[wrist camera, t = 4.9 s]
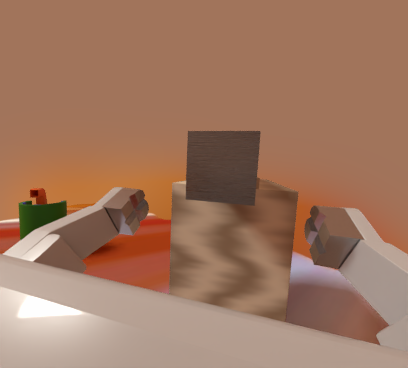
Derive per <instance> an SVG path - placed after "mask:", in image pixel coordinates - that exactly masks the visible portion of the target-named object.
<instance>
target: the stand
mask: <svg viewBox="0 0 408 368" xmlns="http://www.w3.org/2000/svg"><path fill="white" fill-rule="evenodd" d="M185 198H186V181H181V182H175V183H173V185H172V218H171V249H170V282H169V294H170V295H174V296H178V297H183V298H187V299H191V300H195V301H199V302H203V303H208V304H212V305H216V306H220V307H224V308H228V309H233V310H237V311H241V312H245V313H249V314H253V315H258V316H262V317H266V318H270V319H274V320H278V321H283V322H285V320H286V310H287V300H288V290H289V280H290V270H291V260H292V250H293V239H294V230H295V220H296V210H297V200H298V192H297V191H295V190H292V189H289V188H287V187H284V186H282V185H279V184H277V183H274V182H271V181H269V180H261V179H259V178H257V182H256V195H255V206H251V205H240V204H229V203H219V202H208V201H197V200H186V199H185Z"/></svg>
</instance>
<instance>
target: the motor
mask: <svg viewBox="0 0 408 368" xmlns="http://www.w3.org/2000/svg"><path fill="white" fill-rule="evenodd" d="M30 197H36V205H32V201H25V202H21V203H19V221H20V241H21V240H22V239H23V238H25V237H26V236H27V235H28V234H30V233H31V232H32V231H34V230H35V229H37V228H40V227H42V226H44V225H47V224H49V223H51V222H54V221H56V220H59V219H61V218H63V217H66V216H67V205H66V201H61V202H59V203H53V204H47V199H46V193H45V190H44V189H43V188H34V189H31V190H30Z"/></svg>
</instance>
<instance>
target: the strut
mask: <svg viewBox="0 0 408 368" xmlns="http://www.w3.org/2000/svg"><path fill="white" fill-rule="evenodd" d="M259 143H260V131H188V146H187V174H186V198H185V199H186V200H197V201H208V202H219V203H229V204H240V205H251V206H255V195H256V182H257V169H258V156H259Z"/></svg>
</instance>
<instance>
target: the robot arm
mask: <svg viewBox="0 0 408 368" xmlns="http://www.w3.org/2000/svg"><path fill="white" fill-rule="evenodd" d="M144 197H145V194H144V192H143V191H142V190H139V189H131V188H121V187H115V188H113V189H112V190H111V191H110V192H109V193H107V194H106V195H105V196H104V197H103V198H102V199H100V200H99V201H98V202H97V203H96V204H95V205H94V206H89V207H87V208H84V209H82V210H80V211H77V212H75V213H73V214H70V215H68V216H66V217H63V218H61V219H59V220H56V221H54V222H51V223H49V224H47V225H44V226H42V227H40V228H37V229H35V230H34V231H32V232H31V233H30V234H28V235H27V236H26V237H25V238H23V239H22V240H21V241H19V242H18V243H17V244H15V245H14V246H13V247H11V248H10V249H9V250H7V251H6V252H5V253H3V254H0V368H408V255H407V254H406V253H404V252H402V251H401V250H399V249H398V248H396V247H395V246H393V245H391V244H389V243H384V242H383V240H382V239H381V238H380V237H379V235H378V234H377V232H376V231H375V230H374V229H373V227H372V226H371V225H370V223H369V222H368V221H367V219H366V218H365V217H364V215H363V214H362V213H361V211H360V210H358V209H354V208H337V207H325V206H313V207H312V208H311V211H310V214H311V217H310V218H309V219H307V221H306V224H305V237H306V240H307V242H309V243H310V244H311V248H310V253H311V256H312V259H313V262H314V265H319V266H325V267H330V268H335V269H339V271H340V272H341V274H342V275H343V276H344V277H345V278H346V279H347V280H348V281H349V282H350V283H351V284H352V285H353V287H354V288H355V289H356V290H357V291H358V292H359V293H360V294H361V295H362V296H363V297H364V298H365V299H366V301H367V302H368V303H369V304H370V305H371V306H372V307H373V308H374V309H375V310H376V311H377V312H378V313H379V315H380V316H381V317H382V318H383V319H384V320H385V321H386V322H387V323H388V324H389V326H387V327H386V328H384V329H383V330H381V331H379V332H378V334H377V335H376V336H377V339H378V341H379V343H380V345H378V344H374V343H370V342H366V341H362V340H358V339H353V338H349V337H345V336H341V335H337V334H333V333H328V332H324V331H320V330H316V329H312V328H308V327H303V326H299V325H295V324H291V323H287V322H283V321H278V320H274V319H270V318H266V317H262V316H258V315H253V314H249V313H245V312H241V311H237V310H233V309H228V308H224V307H220V306H216V305H212V304H208V303H203V302H199V301H195V300H191V299H187V298H183V297H178V296H174V295H170V294H166V293H162V292H158V291H153V290H149V289H145V288H141V287H137V286H133V285H128V284H124V283H120V282H116V281H112V280H108V279H103V278H99V277H95V276H91V275H87V274H83V272H84V271H85V270H86V265H85V264H84V263H83V262H82V260H83V259H84V258H86V257H87V256H89V255H90V254H91V253H93V252H94V251H96V250H97V249H98V248H100V247H101V246H103V245H104V244H106V243H107V242H108V241H110V240H111V239H113V238H114V237H115V236H117V235H118V234H119V233H120V234H128V235H134V233H135V232H136V230H137V229H138V228H139V226H140V221H142V220H144V219H145V217H146V216H147V214H148V210H149V209H148V208H149V207H148V203H147V201H146V200H144Z"/></svg>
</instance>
